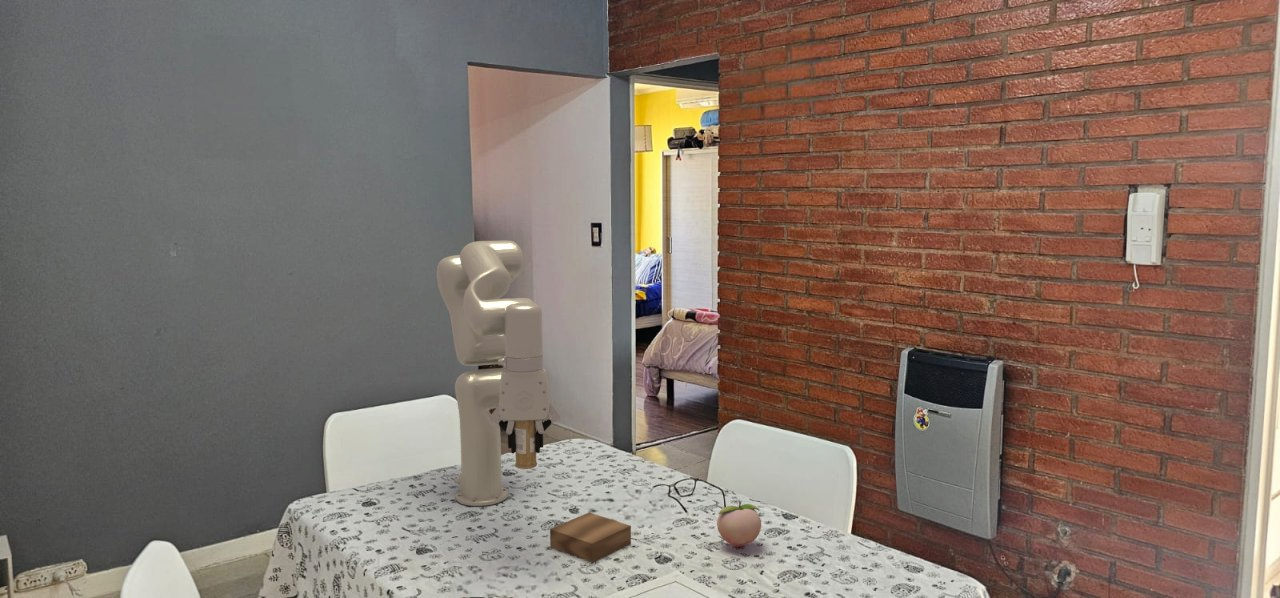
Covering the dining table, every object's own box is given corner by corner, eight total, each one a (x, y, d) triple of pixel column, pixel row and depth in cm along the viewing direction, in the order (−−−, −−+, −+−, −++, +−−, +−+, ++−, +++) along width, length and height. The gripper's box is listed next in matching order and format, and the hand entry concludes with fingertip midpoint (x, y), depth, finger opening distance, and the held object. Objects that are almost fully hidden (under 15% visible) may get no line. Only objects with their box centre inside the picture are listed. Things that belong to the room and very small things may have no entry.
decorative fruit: (732, 559, 171) (733, 512, 170) (710, 545, 179) (711, 499, 177) (770, 550, 176) (771, 504, 174) (747, 536, 183) (748, 492, 182)
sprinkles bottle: (540, 467, 174) (539, 403, 172) (520, 471, 171) (519, 406, 170) (531, 461, 178) (530, 398, 176) (511, 465, 175) (509, 401, 174)
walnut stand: (550, 547, 178) (550, 528, 177) (589, 529, 187) (589, 512, 186) (592, 562, 170) (592, 543, 170) (630, 543, 179) (630, 525, 179)
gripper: (480, 368, 168) (482, 457, 170) (565, 367, 169) (566, 456, 171) (484, 361, 175) (486, 446, 177) (566, 359, 176) (567, 445, 178)
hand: (525, 450), depth 174 cm, fingers closed on sprinkles bottle, 4 cm apart
